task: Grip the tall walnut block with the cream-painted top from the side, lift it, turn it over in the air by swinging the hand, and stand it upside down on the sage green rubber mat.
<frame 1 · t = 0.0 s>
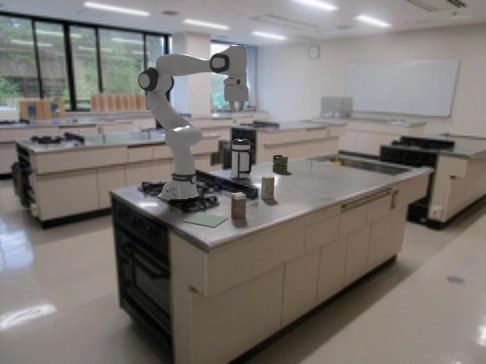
hand: (237, 111, 166), 48 cm above the countertop, tool pointing down, fingers open, 8 cm apart
coffee press: (241, 179, 237), on the countertop
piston: (279, 171, 263), on the countertop
skincare box: (267, 198, 193), on the countertop
block: (238, 216, 161), on the countertop
mat: (206, 220, 156), on the countertop
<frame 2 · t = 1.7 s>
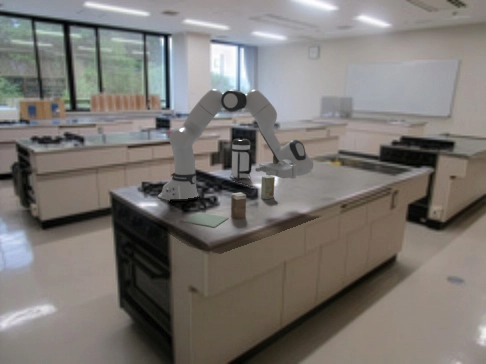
hand: (261, 171, 162), 21 cm above the countertop, tool horizontal, fingers open, 8 cm apart
nothing on the countertop moved.
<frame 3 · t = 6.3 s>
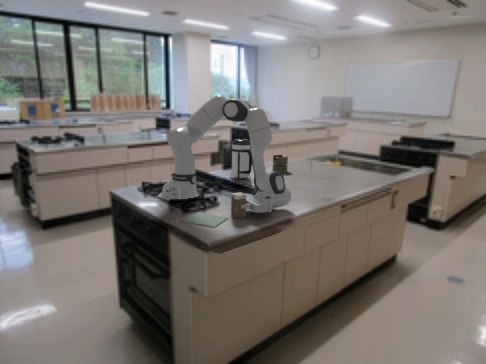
hand: (236, 204, 159), 6 cm above the countertop, tool horizontal, fingers closed on block, 5 cm apart
block: (238, 216, 161), on the countertop, touching gripper
everything else where it was.
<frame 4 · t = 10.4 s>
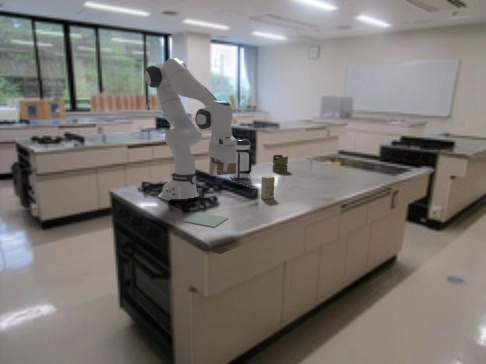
hand: (221, 169, 153), 23 cm above the countertop, tool pointing down, fingers closed on block, 5 cm apart
block: (233, 167, 156), point 24 cm above the countertop, tilted 90°, touching gripper
everything else where it was.
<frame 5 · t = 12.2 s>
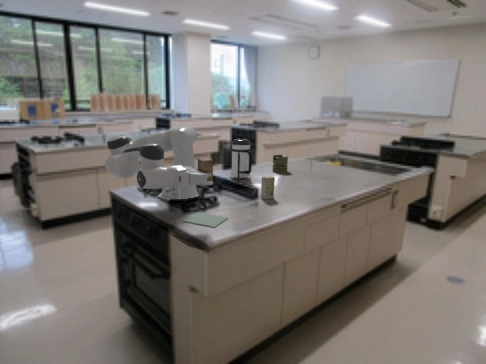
hand: (207, 172, 151), 22 cm above the countertop, tool horizontal, fingers closed on block, 5 cm apart
block: (205, 159, 149), point 28 cm above the countertop, tilted 180°, touching gripper
everything else where it was.
when the fingers open (7 cm above the countertop, at t = 16.3 s): block drops 2 cm, resting on mat.
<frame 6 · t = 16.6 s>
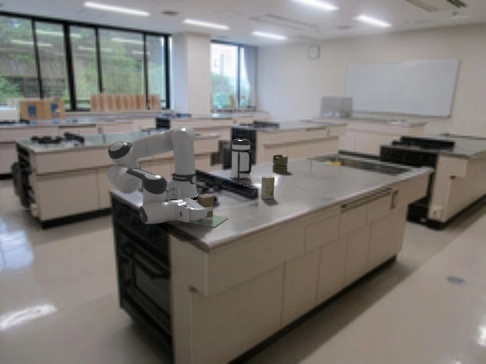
hand: (207, 205, 155), 7 cm above the countertop, tool horizontal, fingers open, 8 cm apart
block: (205, 195, 153), point 11 cm above the countertop, tilted 180°, touching mat
everything else where it was.
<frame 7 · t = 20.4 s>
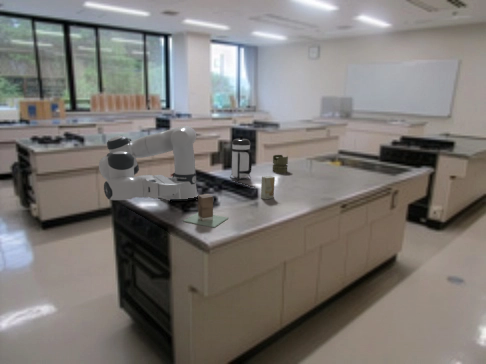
hand: (180, 182, 145), 19 cm above the countertop, tool horizontal, fingers open, 8 cm apart
nothing on the countertop moved.
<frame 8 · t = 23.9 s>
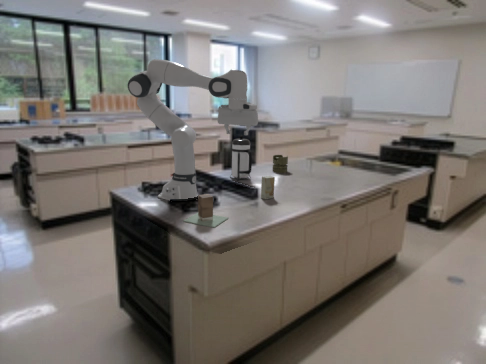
hand: (237, 134, 166), 37 cm above the countertop, tool pointing down, fingers open, 8 cm apart
nothing on the countertop moved.
at the end: block tilted 180°; block inside the target area on the mat (0.3 cm from its centre), point 11.5 cm above the mat's base; the gripper is holding nothing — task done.
